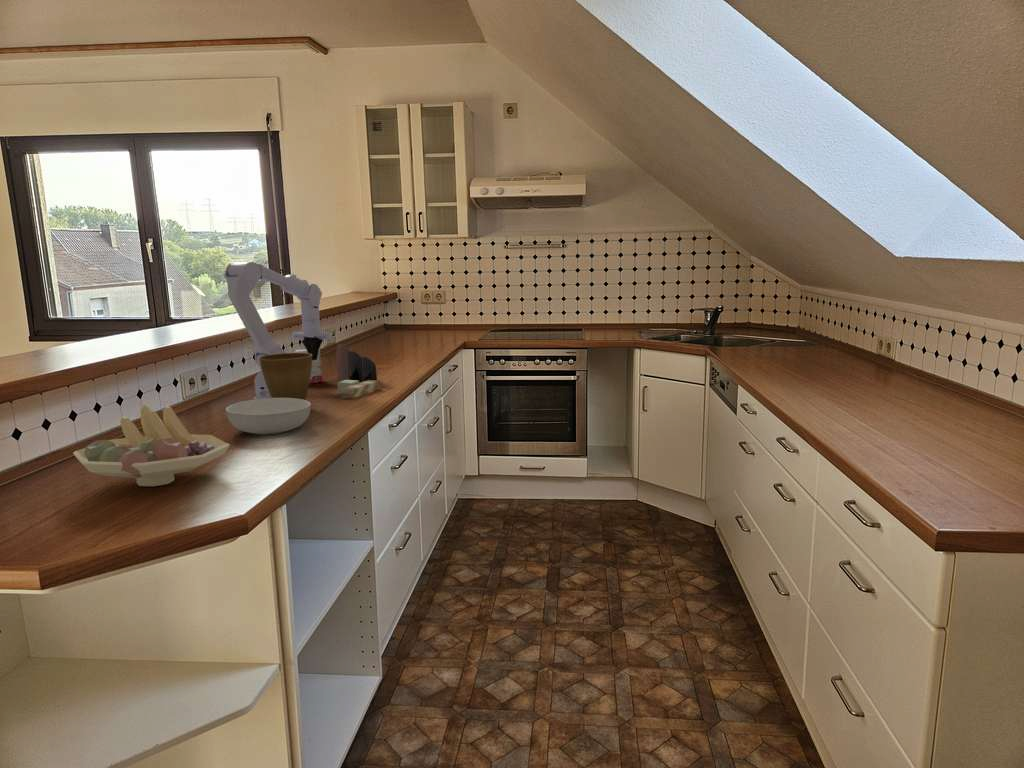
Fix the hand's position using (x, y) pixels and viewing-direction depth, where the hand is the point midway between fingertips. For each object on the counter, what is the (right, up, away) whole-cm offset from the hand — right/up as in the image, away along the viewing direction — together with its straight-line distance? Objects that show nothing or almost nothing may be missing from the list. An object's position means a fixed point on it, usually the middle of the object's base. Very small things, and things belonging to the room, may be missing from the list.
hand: (313, 359), depth 238 cm
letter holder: (+12, -8, +11) cm, 19 cm away
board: (+18, -11, -8) cm, 23 cm away
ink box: (-5, -8, +13) cm, 16 cm away
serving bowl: (+4, -21, -54) cm, 58 cm away
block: (+13, -11, -6) cm, 19 cm away
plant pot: (+1, -16, -29) cm, 33 cm away
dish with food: (-5, -28, -95) cm, 99 cm away
